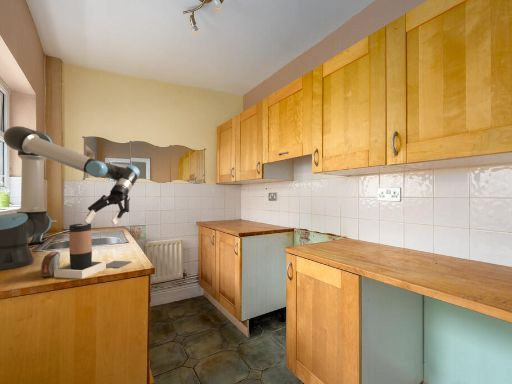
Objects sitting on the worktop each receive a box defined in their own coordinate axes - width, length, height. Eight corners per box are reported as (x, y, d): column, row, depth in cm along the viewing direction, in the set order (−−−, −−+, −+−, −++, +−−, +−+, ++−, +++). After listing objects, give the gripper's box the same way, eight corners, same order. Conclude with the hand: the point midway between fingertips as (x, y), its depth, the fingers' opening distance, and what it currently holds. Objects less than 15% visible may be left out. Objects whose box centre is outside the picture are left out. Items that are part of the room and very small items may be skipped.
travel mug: (73, 277, 101) (72, 226, 101) (67, 273, 106) (66, 225, 106) (95, 272, 108) (94, 224, 107) (88, 268, 112) (87, 222, 112)
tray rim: (54, 277, 102) (53, 269, 101) (80, 267, 114) (80, 260, 114) (82, 278, 100) (82, 270, 100) (106, 268, 112) (105, 261, 112)
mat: (100, 267, 114) (100, 266, 114) (114, 261, 123) (114, 260, 123) (118, 268, 112) (118, 267, 112) (131, 262, 121) (131, 261, 121)
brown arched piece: (52, 269, 112) (52, 249, 112) (61, 268, 113) (61, 249, 113) (40, 280, 98) (39, 258, 98) (50, 279, 100) (49, 257, 100)
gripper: (146, 194, 132) (128, 228, 117) (103, 194, 136) (80, 227, 121) (140, 183, 127) (120, 217, 112) (95, 184, 131) (70, 217, 116)
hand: (99, 223), depth 117 cm, fingers open, 13 cm apart
